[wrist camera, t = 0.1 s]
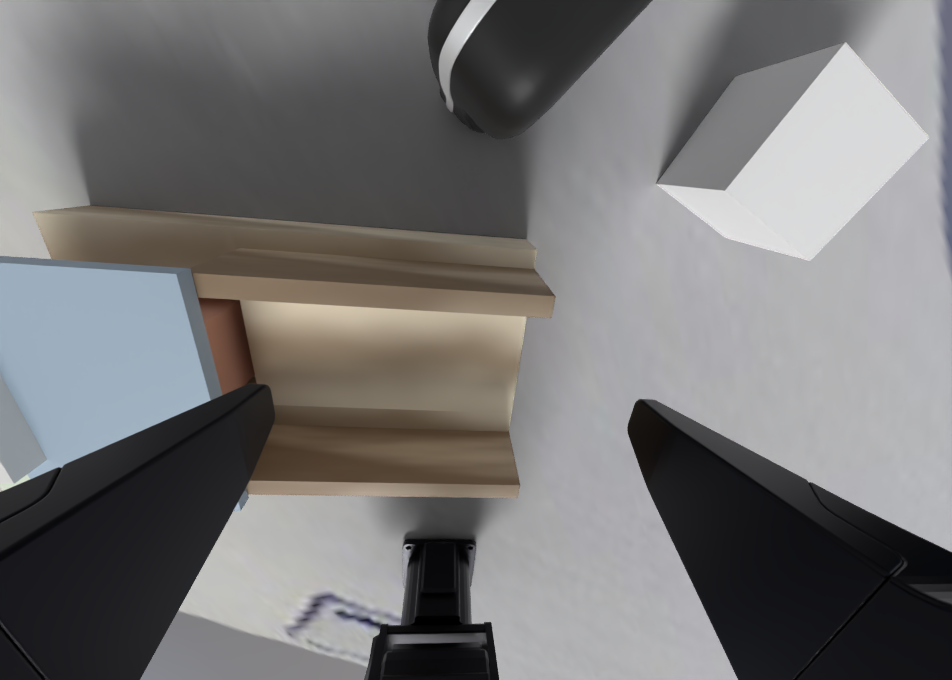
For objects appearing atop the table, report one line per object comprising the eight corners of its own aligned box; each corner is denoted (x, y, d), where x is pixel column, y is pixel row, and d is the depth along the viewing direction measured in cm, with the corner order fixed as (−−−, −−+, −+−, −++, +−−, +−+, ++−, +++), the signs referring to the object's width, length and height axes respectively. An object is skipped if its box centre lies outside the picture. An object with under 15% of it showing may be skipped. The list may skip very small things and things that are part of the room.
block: (264, 364, 25) (199, 433, 18) (185, 361, 24) (90, 430, 18) (251, 293, 22) (172, 344, 16) (163, 288, 22) (47, 338, 16)
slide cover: (248, 497, 19) (225, 535, 17) (63, 495, 19) (17, 534, 17) (190, 268, 14) (147, 285, 12) (-73, 251, 13) (-164, 266, 11)
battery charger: (486, 158, 20) (521, 152, 10) (434, 98, 19) (411, 16, 8) (588, 47, 18) (769, -106, 8) (539, -28, 17) (679, -336, 6)
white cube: (733, 76, 19) (846, 40, 14) (804, 144, 21) (930, 136, 15) (654, 184, 21) (725, 190, 16) (724, 238, 23) (810, 261, 17)
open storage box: (500, 426, 28) (515, 510, 21) (162, 415, 26) (59, 505, 19) (526, 239, 22) (559, 273, 15) (89, 205, 20) (-99, 227, 13)
